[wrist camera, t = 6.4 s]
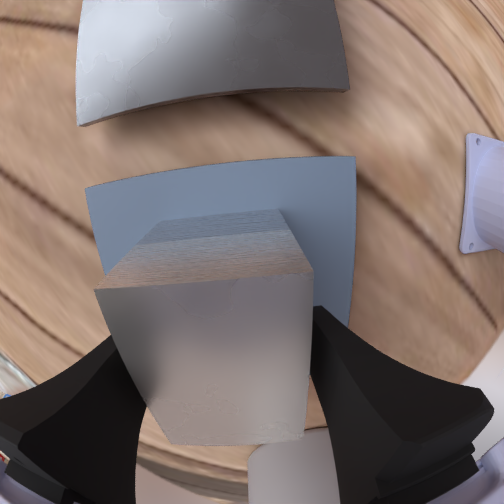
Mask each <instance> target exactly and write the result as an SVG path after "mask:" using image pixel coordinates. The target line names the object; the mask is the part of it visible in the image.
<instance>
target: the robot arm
mask: <svg viewBox="0 0 504 504" xmlns="http://www.w3.org/2000/svg"><path fill="white" fill-rule="evenodd" d="M476 140H477V143H476ZM469 245H470V246H469ZM459 249H460V251H461V252H462V253H464V254H467V253H473V252H479V251H485V250H490V249H498V250H499V251H501V252H503V253H504V142H503V141H499V140H496V139H493V138H489V137H486V136H482V135H478V134H475V133H468V134H467V136H466V191H465V205H464V215H463V224H462V232H461V239H460V245H459ZM310 375H311V378H312V380H313V383H314V386H315V389H316V392H317V395H318V398H319V401H320V404H321V406H322V409H323V412H324V415H325V418H326V422H327V426H328V430H329V435H330V440H331V445H332V450H333V456H334V461H335V467H336V474H337V481H338V488H339V497H340V504H504V438H502V439H501V440H500V441H499V442H497V443H496V444H495V445H494V446H493V447H492V448H490V449H489V450H488V451H487V452H486V453H485V454H484V455H483V456H482V457H481V459H479V460H478V461H476V462H475V460H474V458H473V456H472V455H471V454H472V453H473V452H474V451H475V448H474V446H473V444H472V441H473V440H474V439H475V438H476V437H477V436H478V435H479V434H480V432H481V431H482V430H483V429H484V428H485V426H486V425H487V424H488V423H489V421H490V420H491V418H492V416H493V414H494V408H493V406H492V405H491V403H490V402H489V400H488V399H487V398H486V396H485V395H484V393H483V392H482V391H481V389H479V388H474V387H469V386H464V385H460V384H455V383H451V382H447V381H444V380H441V379H438V378H435V377H432V376H429V375H426V374H424V373H421V372H419V371H417V370H414V369H412V368H410V367H408V366H406V365H404V364H402V363H400V362H398V361H396V360H394V359H392V358H390V357H389V356H387V355H385V354H383V353H382V352H380V351H379V350H377V349H375V348H374V347H373V346H371V345H370V344H368V343H367V342H365V341H364V340H363V339H361V338H360V337H359V336H357V335H356V334H355V333H353V332H352V331H351V330H350V329H348V328H347V327H346V326H345V325H344V324H342V323H341V322H340V321H339V320H338V319H337V318H336V317H334V316H333V315H332V314H331V313H330V312H329V311H328V310H326V309H325V308H324V307H323V306H322V305H320V306H313V320H312V342H311V360H310ZM146 407H147V405H146V403H145V402H144V400H143V398H142V396H141V394H140V393H139V391H138V389H137V387H136V385H135V383H134V382H133V380H132V378H131V376H130V374H129V372H128V370H127V368H126V366H125V364H124V362H123V360H122V358H121V355H120V353H119V351H118V349H117V347H116V345H115V342H114V340H113V338H112V335H110V336H109V337H108V338H107V339H106V340H104V341H103V342H102V343H101V344H99V345H98V346H97V347H96V348H95V349H93V350H92V351H91V352H89V353H88V354H87V355H86V356H84V357H83V358H82V359H80V360H79V361H78V362H76V363H75V364H74V365H72V366H71V367H69V368H68V369H66V370H65V371H63V372H61V373H60V374H58V375H57V376H55V377H53V378H51V379H49V380H47V381H45V382H43V383H42V384H40V385H38V386H36V387H33V388H31V389H29V390H26V391H24V392H21V393H18V394H16V395H13V396H10V397H6V398H2V399H0V451H2V452H3V453H4V454H5V455H6V456H7V457H8V458H9V459H10V460H9V462H8V464H6V463H5V462H3V461H2V460H1V459H0V504H136V498H135V469H136V456H137V447H138V440H139V433H140V428H141V424H142V420H143V417H144V413H145V410H146Z"/></svg>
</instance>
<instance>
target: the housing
mask: <svg viewBox="0 0 504 504" xmlns="http://www.w3.org/2000/svg"><path fill="white" fill-rule="evenodd" d="M313 279H314V271H313V269H312V267H311V266H310V264H309V262H308V260H307V258H306V257H305V255H304V253H303V251H302V249H301V248H300V246H299V244H298V242H297V241H296V239H295V237H294V235H293V234H292V232H291V230H290V229H289V227H288V225H287V223H286V222H285V220H284V218H283V217H282V215H281V213H280V211H279V210H278V209H267V210H256V211H245V212H235V213H225V214H216V215H207V216H198V217H190V218H181V219H173V220H165V221H160V222H159V223H158V224H156V225H155V226H154V227H153V228H152V229H151V230H150V231H149V232H148V233H147V234H146V235H145V236H144V237H143V238H142V239H141V240H140V241H139V242H138V243H137V244H136V245H135V246H134V247H133V248H132V249H131V250H130V251H129V252H128V253H127V254H126V255H125V256H124V257H123V258H122V259H121V260H120V261H119V262H118V263H117V264H116V265H115V266H114V267H113V268H112V270H111V271H110V272H109V273H108V274H107V275H106V276H105V277H104V278H103V279H102V280H101V281H100V282H99V284H98V285H97V286H96V287H95V288H94V292H95V295H96V297H97V300H98V303H99V306H100V308H101V311H102V313H103V316H104V319H105V321H106V324H107V326H108V328H109V331H110V333H111V335H112V338H113V340H114V342H115V345H116V347H117V349H118V351H119V353H120V355H121V358H122V360H123V362H124V364H125V366H126V368H127V370H128V372H129V374H130V376H131V378H132V380H133V382H134V383H135V385H136V387H137V389H138V391H139V393H140V394H141V396H142V398H143V400H144V402H145V403H146V405H147V407H148V408H149V410H150V412H151V413H152V415H153V417H154V418H155V420H156V422H157V423H158V425H159V426H160V428H161V429H162V431H163V432H164V434H165V435H166V437H167V438H168V440H169V441H170V443H171V444H178V445H197V446H236V445H255V444H268V443H278V442H286V441H294V440H301V439H303V437H304V429H305V419H306V410H307V399H308V387H309V375H310V360H311V342H312V320H313Z"/></svg>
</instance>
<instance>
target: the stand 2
mask: <svg viewBox="0 0 504 504" xmlns="http://www.w3.org/2000/svg"><path fill="white" fill-rule="evenodd" d="M85 193H86V199H87V204H88V209H89V214H90V219H91V223H92V228H93V232H94V236H95V240H96V244H97V248H98V252H99V255H100V259H101V262H102V266H103V269H104V273H105V276H106V275H107V274H108V273H109V272H110V271H111V270H112V268H113V267H114V266H115V265H116V264H117V263H118V262H119V261H120V260H121V259H122V258H123V257H124V256H125V255H126V254H127V253H128V252H129V251H130V250H131V249H132V248H133V247H134V246H135V245H136V244H137V243H138V242H139V241H140V240H141V239H142V238H143V237H144V236H145V235H146V234H147V233H148V232H149V231H150V230H151V229H152V228H153V227H154V226H155V225H156V224H158V223H159V222H160V221H165V220H173V219H181V218H190V217H198V216H207V215H216V214H225V213H235V212H245V211H256V210H267V209H278V210H279V211H280V213H281V215H282V217H283V218H284V220H285V222H286V223H287V225H288V227H289V229H290V230H291V232H292V234H293V235H294V237H295V239H296V241H297V242H298V244H299V246H300V248H301V249H302V251H303V253H304V255H305V257H306V258H307V260H308V262H309V264H310V266H311V267H312V269H313V271H314V279H313V306H320V305H322V306H323V307H324V308H325V309H326V310H328V311H329V312H330V313H331V314H332V315H333V316H334V317H336V318H337V319H338V320H339V321H340V322H341V323H342V324H344V325H345V326H346V327H347V328H348V322H349V314H350V305H351V295H352V285H353V272H354V257H355V237H356V160H355V157H354V156H313V157H289V158H273V159H259V160H248V161H237V162H228V163H219V164H211V165H203V166H196V167H189V168H182V169H175V170H169V171H163V172H157V173H152V174H146V175H141V176H136V177H131V178H126V179H121V180H117V181H112V182H108V183H103V184H99V185H95V186H91V187H88V188H85Z"/></svg>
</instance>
